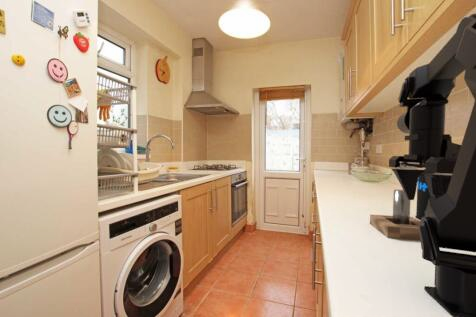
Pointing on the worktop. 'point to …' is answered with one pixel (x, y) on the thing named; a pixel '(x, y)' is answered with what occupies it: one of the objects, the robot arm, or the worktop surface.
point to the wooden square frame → (396, 227)
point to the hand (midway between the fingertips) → (423, 204)
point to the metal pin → (401, 208)
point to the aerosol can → (422, 195)
